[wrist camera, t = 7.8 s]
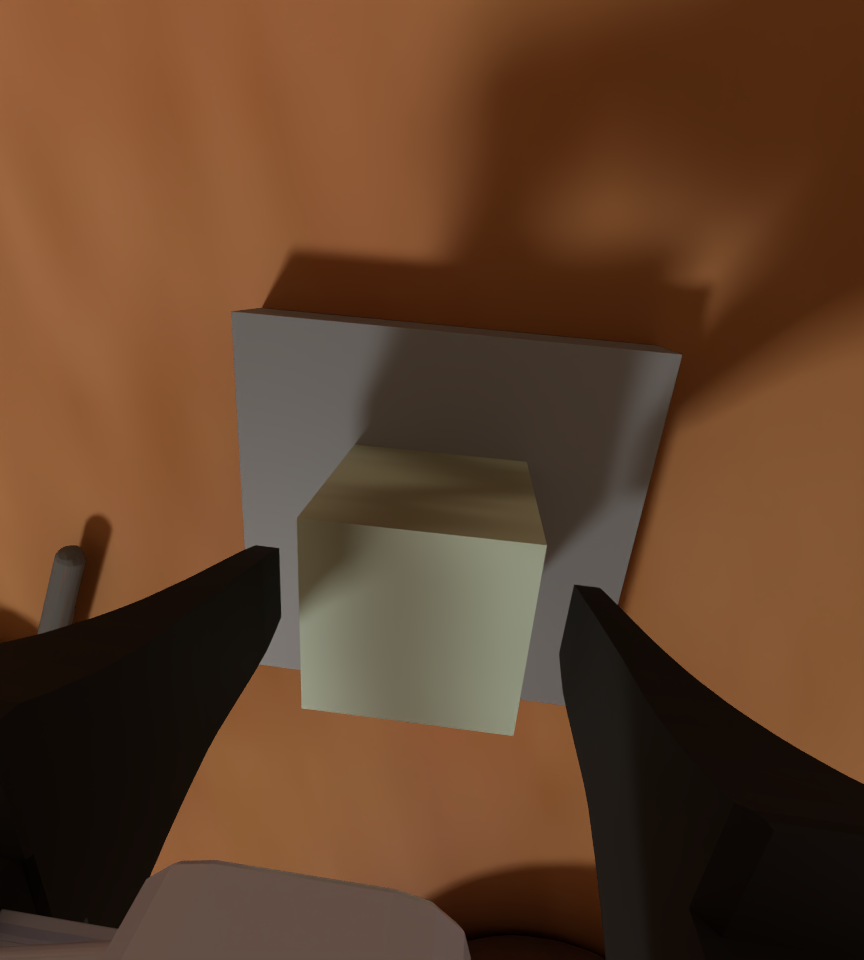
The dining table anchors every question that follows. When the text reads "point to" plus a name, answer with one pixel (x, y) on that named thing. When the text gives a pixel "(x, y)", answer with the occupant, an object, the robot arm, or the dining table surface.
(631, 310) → the dining table surface
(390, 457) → the cube
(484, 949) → the dish
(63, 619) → the walkie-talkie
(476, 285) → the dining table surface
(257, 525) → the stand
